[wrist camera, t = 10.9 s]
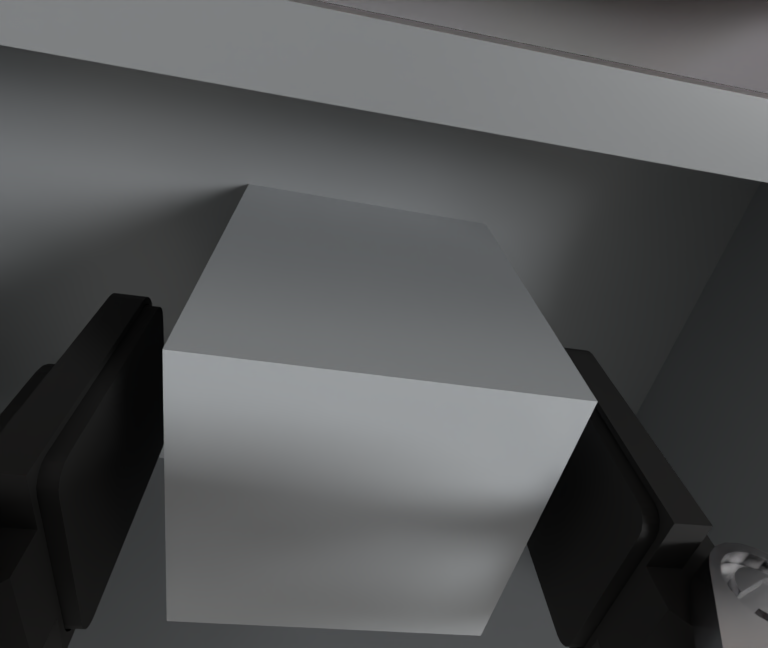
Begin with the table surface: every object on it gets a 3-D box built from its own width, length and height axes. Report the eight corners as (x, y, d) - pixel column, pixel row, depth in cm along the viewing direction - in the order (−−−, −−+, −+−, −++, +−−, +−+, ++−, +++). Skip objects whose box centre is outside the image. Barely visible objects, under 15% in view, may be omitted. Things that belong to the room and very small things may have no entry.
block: (248, 183, 11) (161, 349, 6) (485, 224, 12) (597, 401, 6) (235, 381, 13) (166, 621, 8) (430, 403, 14) (480, 635, 9)
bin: (-139, -94, 9) (-801, -223, 4) (809, 102, 11) (1185, 184, 6) (-5, 443, 15) (-190, 677, 10) (598, 492, 17) (704, 698, 12)
